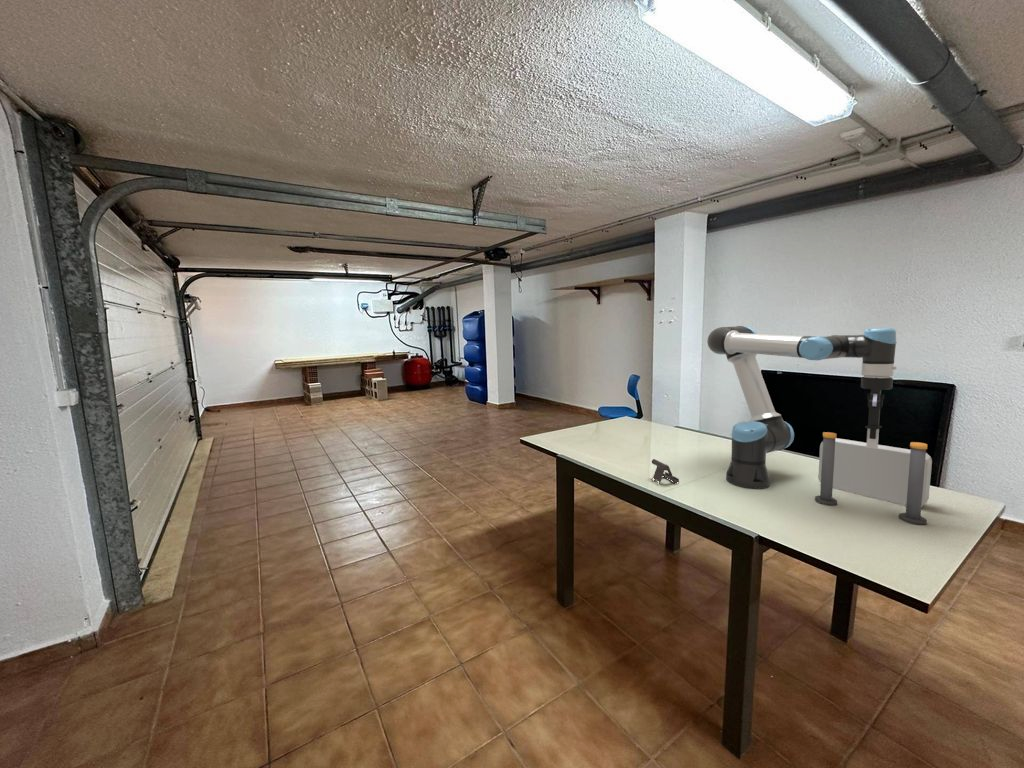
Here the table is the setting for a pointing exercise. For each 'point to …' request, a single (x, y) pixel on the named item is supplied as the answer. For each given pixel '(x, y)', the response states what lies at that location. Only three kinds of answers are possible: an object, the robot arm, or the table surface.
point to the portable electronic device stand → (660, 471)
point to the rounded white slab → (874, 471)
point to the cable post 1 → (827, 470)
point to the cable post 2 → (915, 485)
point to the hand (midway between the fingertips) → (872, 447)
